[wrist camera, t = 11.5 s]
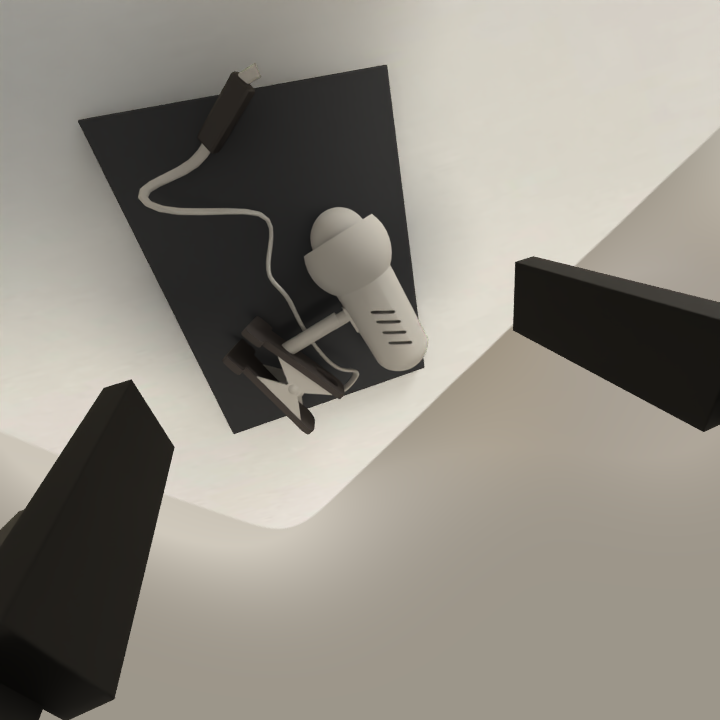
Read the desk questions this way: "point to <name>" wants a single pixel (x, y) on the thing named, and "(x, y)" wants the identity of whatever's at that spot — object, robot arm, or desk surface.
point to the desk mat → (251, 233)
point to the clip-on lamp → (328, 270)
